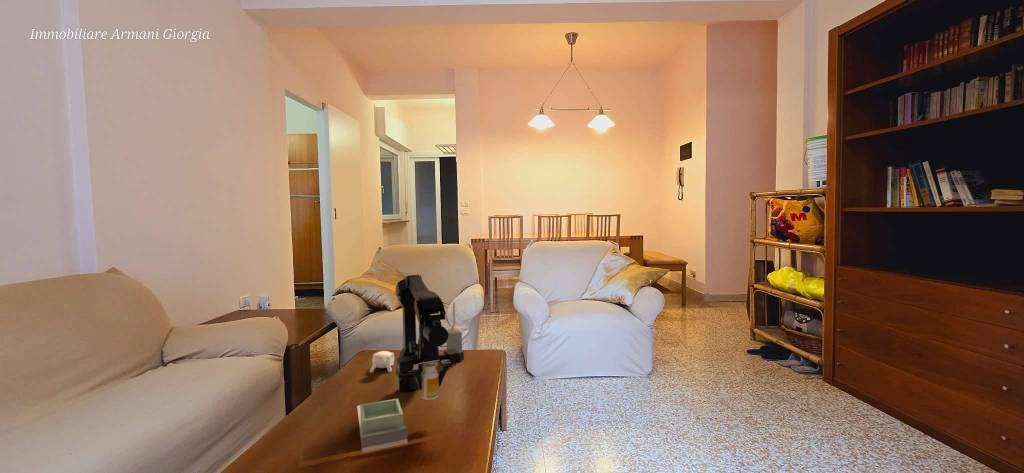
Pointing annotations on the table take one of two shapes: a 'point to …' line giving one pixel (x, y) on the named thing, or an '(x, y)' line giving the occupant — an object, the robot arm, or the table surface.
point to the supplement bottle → (429, 382)
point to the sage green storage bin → (381, 415)
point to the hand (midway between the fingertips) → (429, 388)
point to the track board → (381, 437)
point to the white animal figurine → (382, 360)
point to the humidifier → (454, 336)
